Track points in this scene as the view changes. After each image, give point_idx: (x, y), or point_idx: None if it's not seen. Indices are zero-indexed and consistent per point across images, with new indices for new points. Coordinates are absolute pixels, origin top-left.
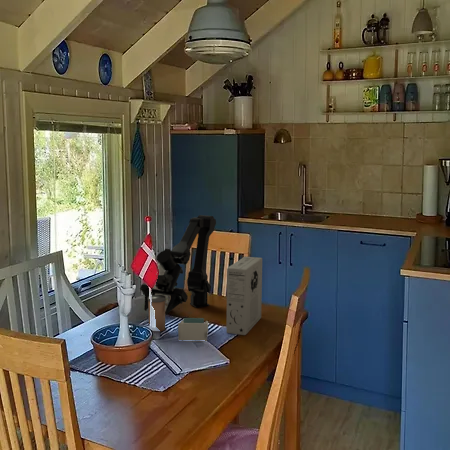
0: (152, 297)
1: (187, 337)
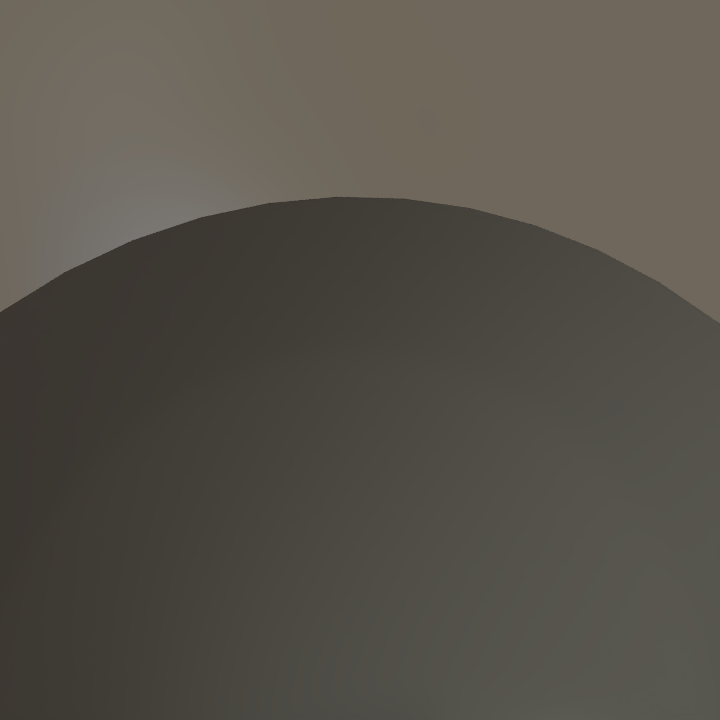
0: (579, 551)
1: None
